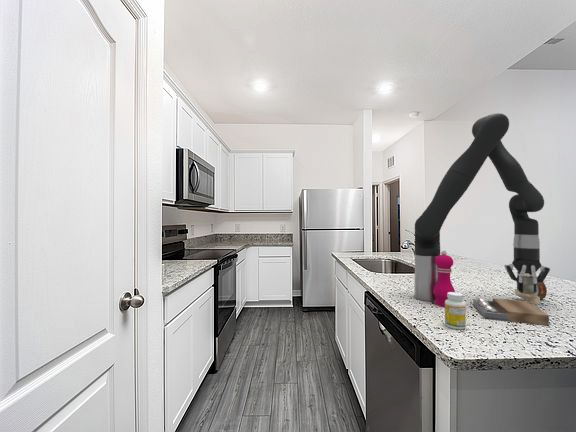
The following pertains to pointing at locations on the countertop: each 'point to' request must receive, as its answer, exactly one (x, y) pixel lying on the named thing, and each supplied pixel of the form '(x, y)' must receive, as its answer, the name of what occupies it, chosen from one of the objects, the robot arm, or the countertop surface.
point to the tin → (540, 289)
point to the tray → (490, 314)
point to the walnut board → (521, 311)
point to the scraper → (528, 290)
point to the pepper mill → (443, 278)
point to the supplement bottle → (455, 311)
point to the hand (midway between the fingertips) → (526, 292)
